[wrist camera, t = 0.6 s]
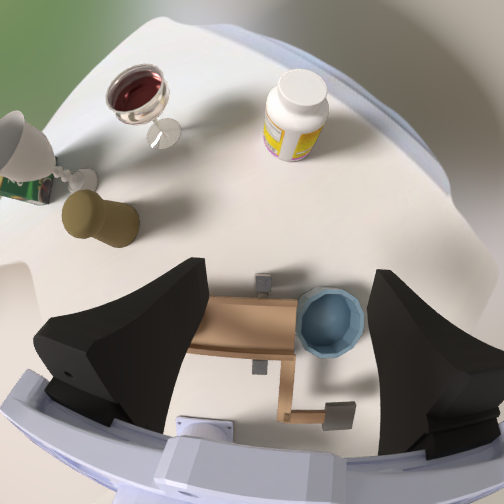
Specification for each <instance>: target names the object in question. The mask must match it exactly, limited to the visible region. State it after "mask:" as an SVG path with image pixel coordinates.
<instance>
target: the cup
mask: <svg viewBox="0 0 504 504" xmlns="http://www.w3.org/2000/svg"><path fill="white" fill-rule="evenodd" d="M363 327H364V312H363V310H362V308H361V306H360V304H359V301H358V299H357V298H355V297H354V296H352V295H351V294H349V293H347V292H346V291H344V290H342V289H339V288H335V287H316V288H314V289H312V290H310V291H308V292H307V293H305V294H303V295H302V296H301V297H300V299H299V300H298V304H297V307H296V324H295V334H296V336H297V338H298V340H299V341H300V343H301V344H302V346H303V347H304V349H305V350H306V351H308V352H310V353H312V354H314V355H315V356H317V357H319V358H334V357H339V356H341V355H342V354H344V353H346V352H347V351H349V350H351V349H352V348H354V346H355V344H356V343H357V341H358V340H359V338H360V337H361V335H362V333H363Z"/></svg>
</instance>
